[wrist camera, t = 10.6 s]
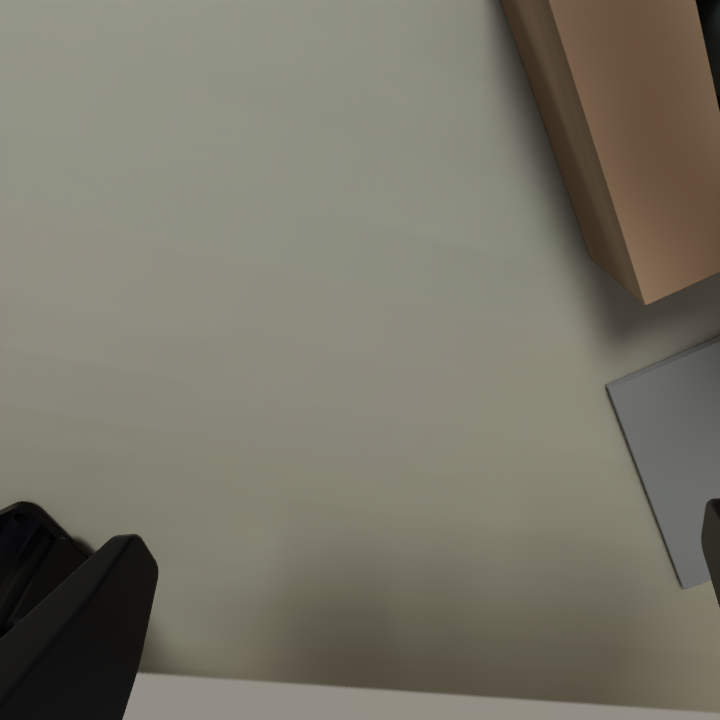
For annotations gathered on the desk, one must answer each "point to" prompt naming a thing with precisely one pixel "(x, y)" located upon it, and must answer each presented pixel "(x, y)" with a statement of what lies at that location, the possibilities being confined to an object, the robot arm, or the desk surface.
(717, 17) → the peg
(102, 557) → the robot arm
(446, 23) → the desk surface
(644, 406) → the mat
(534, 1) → the hole block
